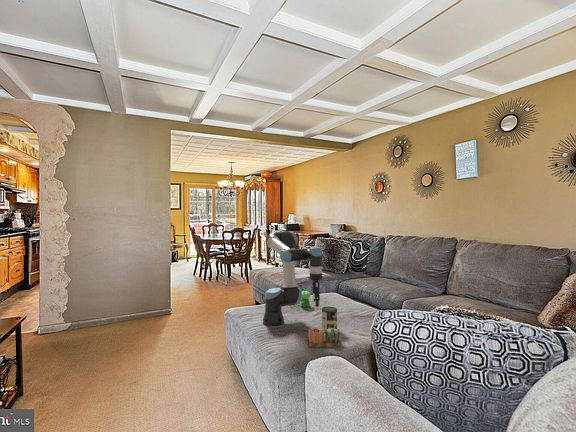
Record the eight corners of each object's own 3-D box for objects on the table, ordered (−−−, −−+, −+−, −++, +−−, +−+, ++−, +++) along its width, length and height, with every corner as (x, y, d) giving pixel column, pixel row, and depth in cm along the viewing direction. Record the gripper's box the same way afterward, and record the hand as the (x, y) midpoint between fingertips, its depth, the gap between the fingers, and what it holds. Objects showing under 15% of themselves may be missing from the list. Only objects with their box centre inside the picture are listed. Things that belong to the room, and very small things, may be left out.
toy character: (289, 306, 255) (288, 290, 254) (310, 303, 256) (309, 288, 256) (290, 309, 245) (289, 294, 245) (312, 307, 246) (310, 291, 246)
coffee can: (339, 328, 203) (339, 307, 203) (333, 334, 194) (333, 312, 194) (325, 325, 209) (325, 305, 208) (319, 330, 200) (318, 309, 200)
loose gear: (309, 343, 178) (309, 333, 178) (308, 337, 187) (308, 327, 187) (325, 343, 178) (325, 333, 178) (323, 337, 187) (323, 327, 187)
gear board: (310, 347, 175) (310, 333, 175) (308, 337, 189) (308, 324, 189) (342, 347, 176) (342, 333, 175) (338, 337, 190) (338, 324, 189)
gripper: (324, 277, 170) (324, 314, 171) (319, 268, 195) (319, 301, 195) (311, 277, 170) (311, 314, 171) (308, 268, 195) (308, 301, 195)
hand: (315, 307), depth 183 cm, fingers open, 13 cm apart
